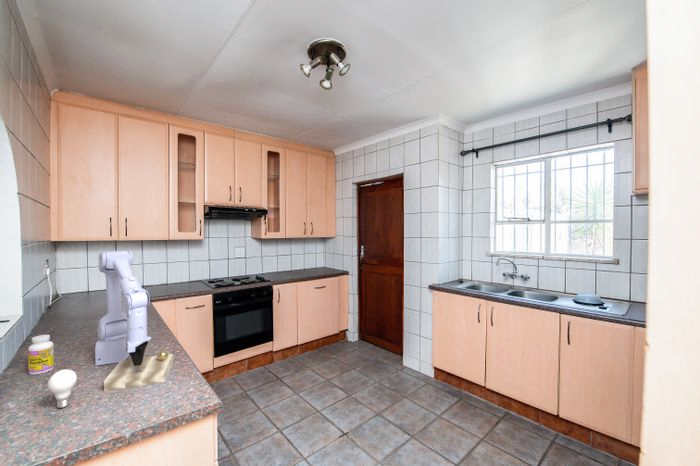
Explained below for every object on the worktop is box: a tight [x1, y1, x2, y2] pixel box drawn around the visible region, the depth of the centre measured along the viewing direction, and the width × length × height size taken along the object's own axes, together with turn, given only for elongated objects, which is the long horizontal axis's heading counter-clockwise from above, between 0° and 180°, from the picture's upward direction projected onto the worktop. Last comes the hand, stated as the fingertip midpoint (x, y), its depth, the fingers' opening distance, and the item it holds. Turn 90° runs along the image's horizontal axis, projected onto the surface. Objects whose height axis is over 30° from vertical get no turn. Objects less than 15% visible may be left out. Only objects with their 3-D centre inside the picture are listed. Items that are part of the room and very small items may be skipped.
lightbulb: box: [47, 368, 78, 409], centre depth 91 cm, size 6×6×11 cm
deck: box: [103, 353, 174, 392], centre depth 110 cm, size 17×16×4 cm
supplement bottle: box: [27, 334, 55, 376], centre depth 113 cm, size 7×7×13 cm
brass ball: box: [156, 349, 169, 360], centre depth 115 cm, size 4×4×4 cm
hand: (137, 364), depth 108 cm, fingers closed
